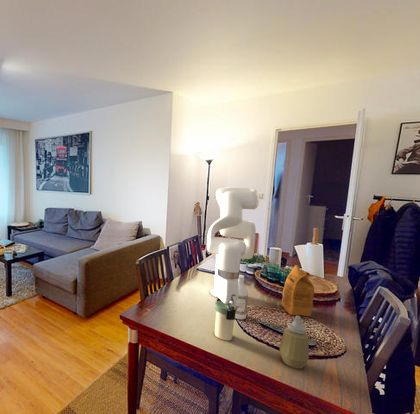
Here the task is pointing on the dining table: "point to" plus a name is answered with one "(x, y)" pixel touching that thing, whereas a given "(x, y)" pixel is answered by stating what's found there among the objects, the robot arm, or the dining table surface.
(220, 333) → the jar
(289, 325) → the squeeze bottle
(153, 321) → the dining table surface
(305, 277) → the coffee package
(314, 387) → the dining table surface
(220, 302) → the lid
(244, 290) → the bath foam
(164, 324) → the dining table surface
